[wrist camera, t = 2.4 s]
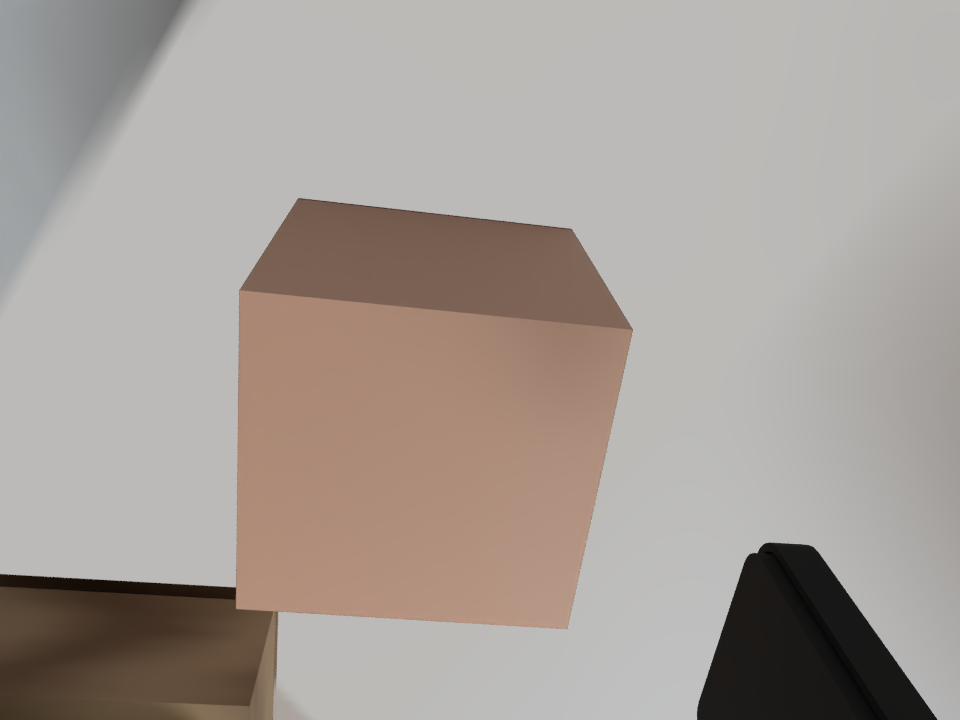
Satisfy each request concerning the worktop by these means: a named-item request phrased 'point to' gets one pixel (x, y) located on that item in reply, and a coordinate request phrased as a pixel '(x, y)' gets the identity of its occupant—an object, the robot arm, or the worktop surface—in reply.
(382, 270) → the cube
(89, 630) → the bottom slab
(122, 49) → the worktop surface
